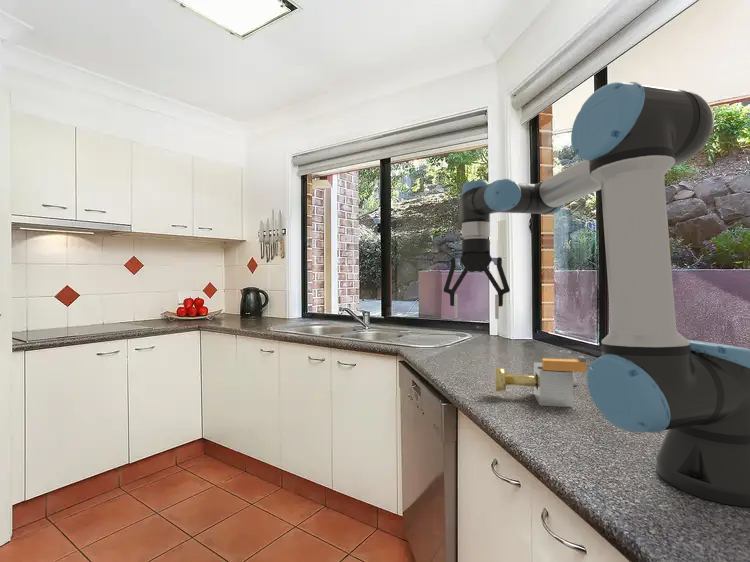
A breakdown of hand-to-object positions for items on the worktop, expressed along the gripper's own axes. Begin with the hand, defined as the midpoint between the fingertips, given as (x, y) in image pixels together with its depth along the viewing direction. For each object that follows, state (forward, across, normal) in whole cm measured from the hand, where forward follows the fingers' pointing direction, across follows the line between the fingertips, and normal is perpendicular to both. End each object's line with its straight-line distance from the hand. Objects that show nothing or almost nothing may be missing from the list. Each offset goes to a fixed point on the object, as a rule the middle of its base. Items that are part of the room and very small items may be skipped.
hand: (476, 318), depth 114 cm
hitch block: (+22, -20, 0) cm, 30 cm away
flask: (+22, -27, -18) cm, 39 cm away
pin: (+20, -13, 0) cm, 24 cm away
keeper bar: (+13, -22, +3) cm, 26 cm away
